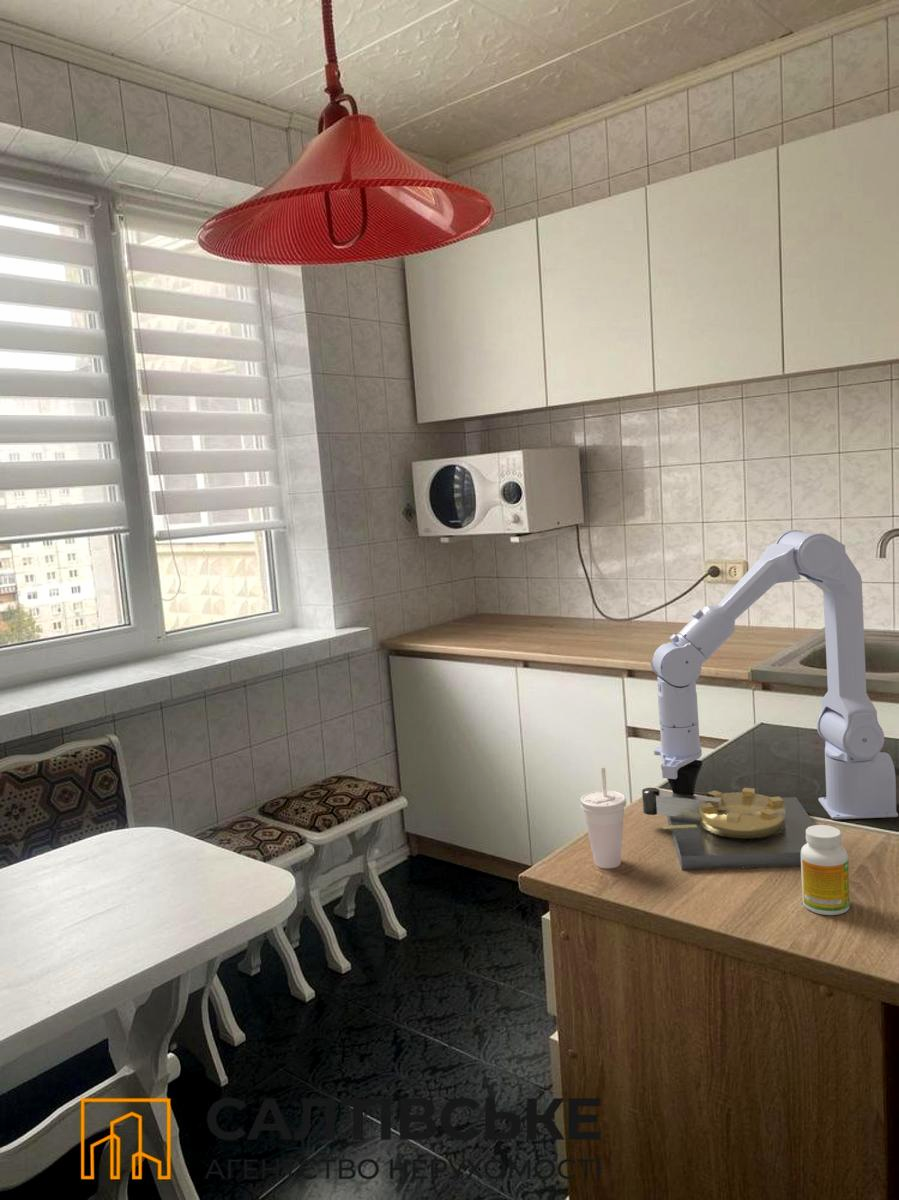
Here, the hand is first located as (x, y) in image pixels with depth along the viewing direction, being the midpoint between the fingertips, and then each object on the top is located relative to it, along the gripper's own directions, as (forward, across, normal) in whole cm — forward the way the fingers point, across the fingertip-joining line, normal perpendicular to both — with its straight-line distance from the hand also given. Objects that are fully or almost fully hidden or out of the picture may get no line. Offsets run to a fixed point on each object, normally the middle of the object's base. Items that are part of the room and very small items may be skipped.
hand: (684, 808), depth 137 cm
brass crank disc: (0, +2, +4) cm, 5 cm away
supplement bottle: (+3, +19, +22) cm, 29 cm away
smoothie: (+3, +16, -7) cm, 17 cm away
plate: (+3, +2, +9) cm, 9 cm away
